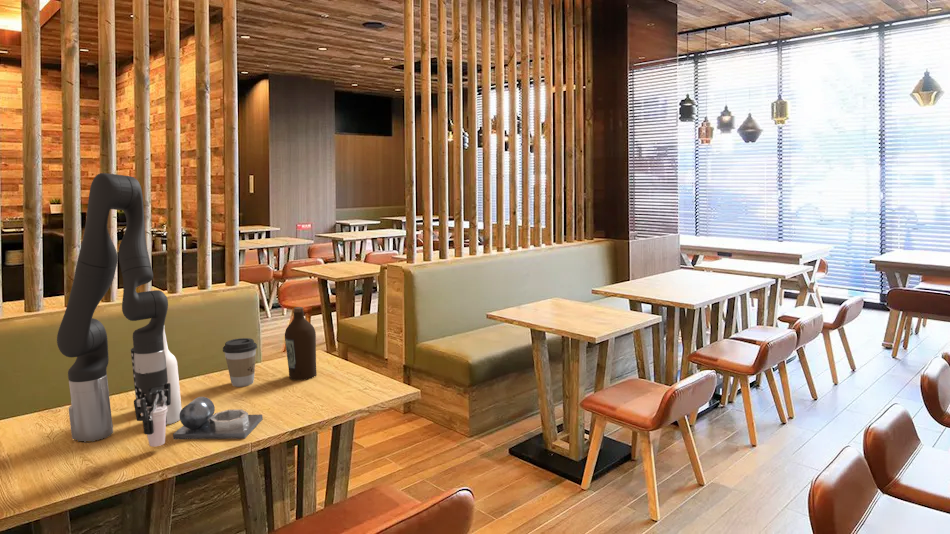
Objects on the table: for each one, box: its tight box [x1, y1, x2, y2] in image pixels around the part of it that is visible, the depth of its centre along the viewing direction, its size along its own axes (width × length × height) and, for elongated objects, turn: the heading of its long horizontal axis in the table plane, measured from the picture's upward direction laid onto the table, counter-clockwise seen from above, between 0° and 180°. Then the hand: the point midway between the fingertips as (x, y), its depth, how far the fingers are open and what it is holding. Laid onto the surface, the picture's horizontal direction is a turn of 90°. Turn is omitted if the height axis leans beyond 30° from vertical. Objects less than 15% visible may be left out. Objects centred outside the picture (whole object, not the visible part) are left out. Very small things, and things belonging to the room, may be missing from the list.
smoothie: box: [141, 405, 168, 447], centre depth 174 cm, size 6×6×14 cm
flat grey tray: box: [172, 396, 264, 440], centre depth 188 cm, size 20×14×8 cm
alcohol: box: [163, 325, 183, 426], centre depth 194 cm, size 9×9×30 cm
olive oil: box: [284, 306, 317, 381], centre depth 234 cm, size 11×11×25 cm
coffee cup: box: [222, 337, 258, 388], centre depth 229 cm, size 11×11×15 cm
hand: (155, 428), depth 174 cm, fingers closed on smoothie, 6 cm apart
